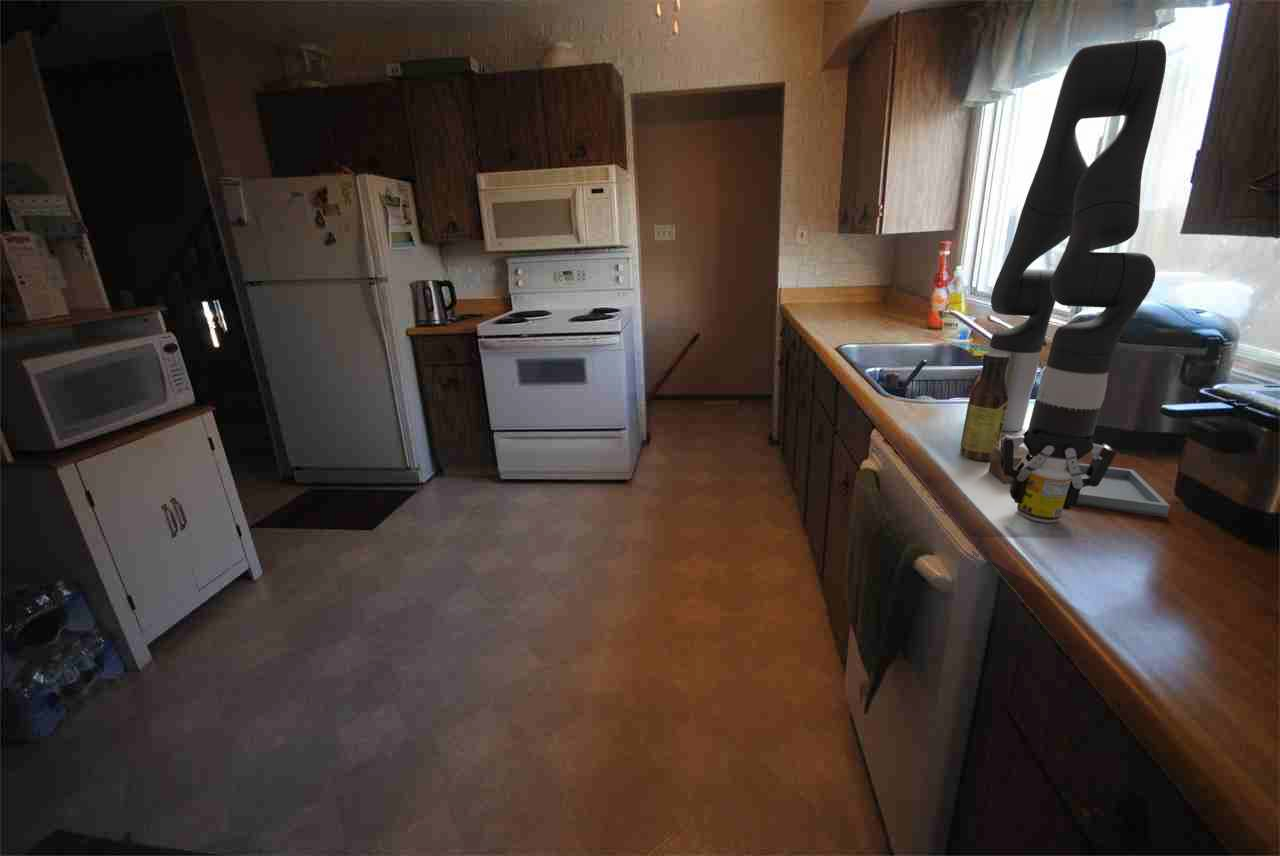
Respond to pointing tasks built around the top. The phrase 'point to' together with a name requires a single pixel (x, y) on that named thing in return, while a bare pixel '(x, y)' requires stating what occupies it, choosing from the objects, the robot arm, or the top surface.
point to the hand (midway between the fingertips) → (1040, 503)
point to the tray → (1122, 493)
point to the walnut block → (996, 464)
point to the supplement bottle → (1046, 491)
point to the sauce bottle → (986, 409)
